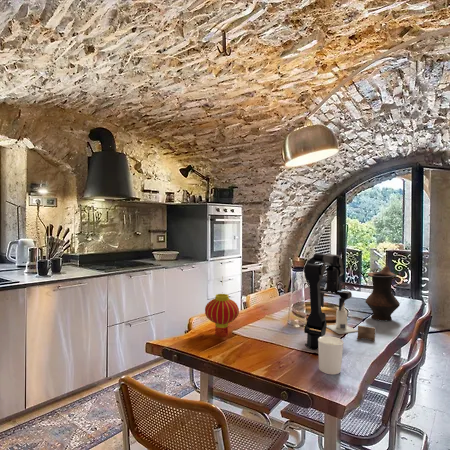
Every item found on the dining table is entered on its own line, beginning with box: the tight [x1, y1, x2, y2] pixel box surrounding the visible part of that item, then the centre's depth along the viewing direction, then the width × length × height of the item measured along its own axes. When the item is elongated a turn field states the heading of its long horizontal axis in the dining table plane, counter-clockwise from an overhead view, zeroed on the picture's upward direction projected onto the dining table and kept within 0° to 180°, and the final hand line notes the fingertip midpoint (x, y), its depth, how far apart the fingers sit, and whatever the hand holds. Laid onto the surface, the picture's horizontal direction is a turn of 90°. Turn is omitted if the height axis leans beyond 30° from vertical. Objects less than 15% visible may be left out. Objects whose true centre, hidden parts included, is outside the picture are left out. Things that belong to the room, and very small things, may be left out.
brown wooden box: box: [357, 324, 376, 342], centre depth 176 cm, size 8×4×6 cm, turn 66°
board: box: [326, 323, 358, 335], centre depth 190 cm, size 12×12×1 cm
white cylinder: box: [317, 335, 345, 375], centre depth 141 cm, size 10×10×12 cm
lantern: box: [204, 275, 240, 337], centre depth 178 cm, size 17×17×30 cm
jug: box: [365, 266, 400, 322], centre depth 209 cm, size 21×18×30 cm
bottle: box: [335, 302, 348, 330], centre depth 189 cm, size 6×5×14 cm
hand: (331, 308), depth 182 cm, fingers open, 9 cm apart
